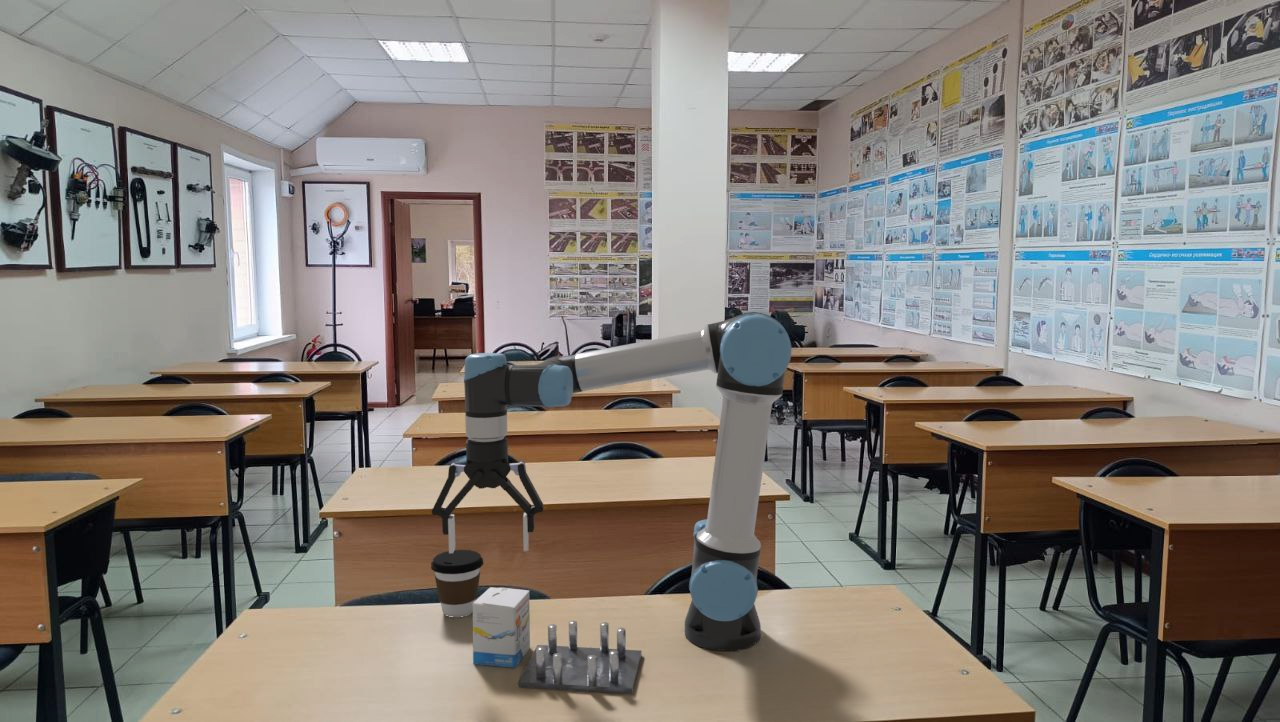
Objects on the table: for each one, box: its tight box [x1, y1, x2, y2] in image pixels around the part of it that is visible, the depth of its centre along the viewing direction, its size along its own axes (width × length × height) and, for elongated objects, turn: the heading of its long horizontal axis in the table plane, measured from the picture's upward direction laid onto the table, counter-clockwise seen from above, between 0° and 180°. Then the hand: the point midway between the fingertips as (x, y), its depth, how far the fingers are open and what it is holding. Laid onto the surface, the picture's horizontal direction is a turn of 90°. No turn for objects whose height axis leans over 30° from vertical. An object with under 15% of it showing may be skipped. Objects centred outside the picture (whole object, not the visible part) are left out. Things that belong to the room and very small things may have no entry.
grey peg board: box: [517, 620, 642, 695], centre depth 141 cm, size 20×15×6 cm
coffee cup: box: [430, 549, 484, 617], centre depth 166 cm, size 11×11×12 cm
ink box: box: [472, 586, 531, 669], centre depth 147 cm, size 9×8×12 cm
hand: (489, 550), depth 146 cm, fingers open, 13 cm apart
